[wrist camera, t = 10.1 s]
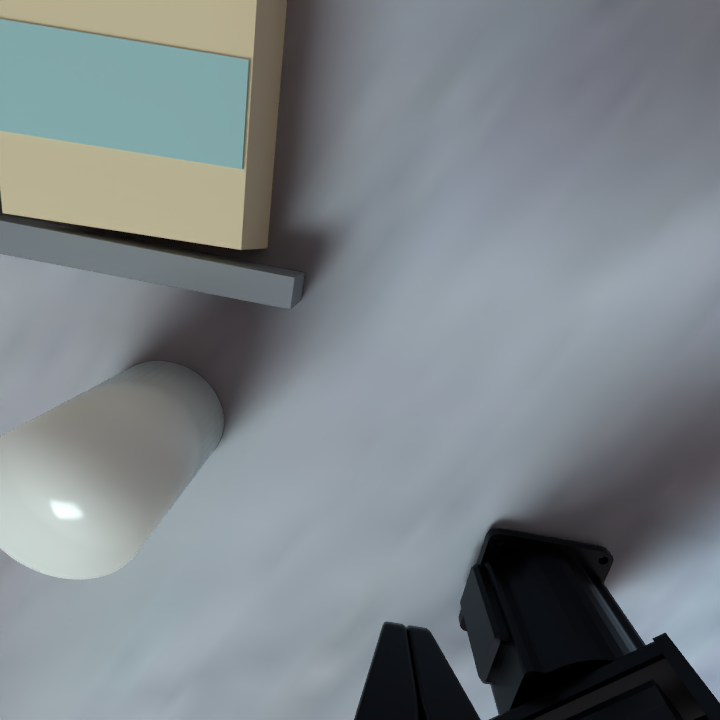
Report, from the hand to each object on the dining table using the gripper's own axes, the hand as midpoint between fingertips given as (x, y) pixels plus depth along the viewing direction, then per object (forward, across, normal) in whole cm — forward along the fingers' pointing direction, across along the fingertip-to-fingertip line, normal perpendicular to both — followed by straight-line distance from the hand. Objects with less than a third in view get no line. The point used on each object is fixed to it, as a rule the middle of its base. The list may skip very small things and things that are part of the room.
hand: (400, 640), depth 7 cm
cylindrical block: (+12, +10, +3) cm, 16 cm away
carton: (+12, +10, -12) cm, 20 cm away
